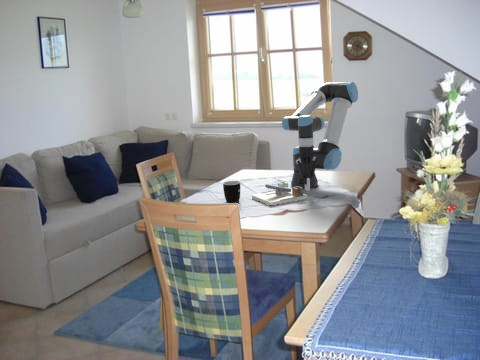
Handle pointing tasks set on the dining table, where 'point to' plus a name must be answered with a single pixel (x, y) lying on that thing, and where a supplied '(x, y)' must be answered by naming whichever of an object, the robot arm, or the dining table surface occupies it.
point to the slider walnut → (297, 191)
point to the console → (277, 197)
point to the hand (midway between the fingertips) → (307, 190)
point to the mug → (232, 191)
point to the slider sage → (283, 184)
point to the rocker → (278, 188)
